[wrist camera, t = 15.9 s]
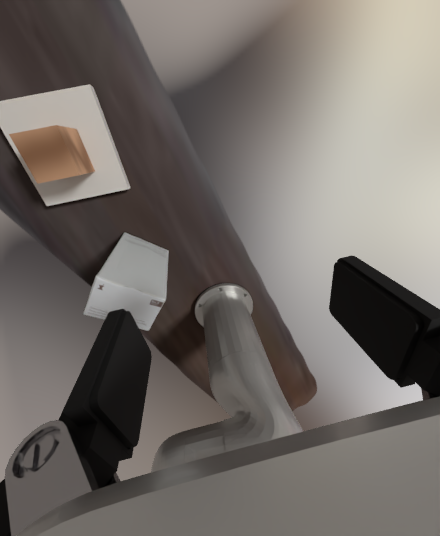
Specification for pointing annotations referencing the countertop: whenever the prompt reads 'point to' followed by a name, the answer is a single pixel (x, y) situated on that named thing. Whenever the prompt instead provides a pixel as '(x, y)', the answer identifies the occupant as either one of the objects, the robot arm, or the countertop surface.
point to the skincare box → (131, 282)
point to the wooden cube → (53, 153)
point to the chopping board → (91, 133)
